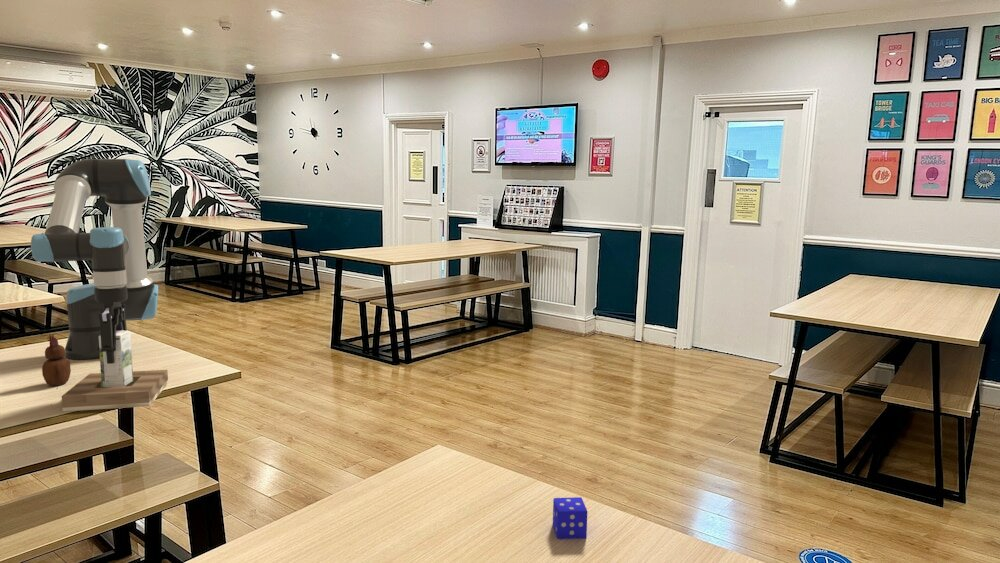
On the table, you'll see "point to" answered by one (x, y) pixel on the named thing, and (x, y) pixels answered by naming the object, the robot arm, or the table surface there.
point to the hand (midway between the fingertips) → (117, 370)
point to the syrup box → (123, 362)
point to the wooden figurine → (55, 364)
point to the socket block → (115, 392)
